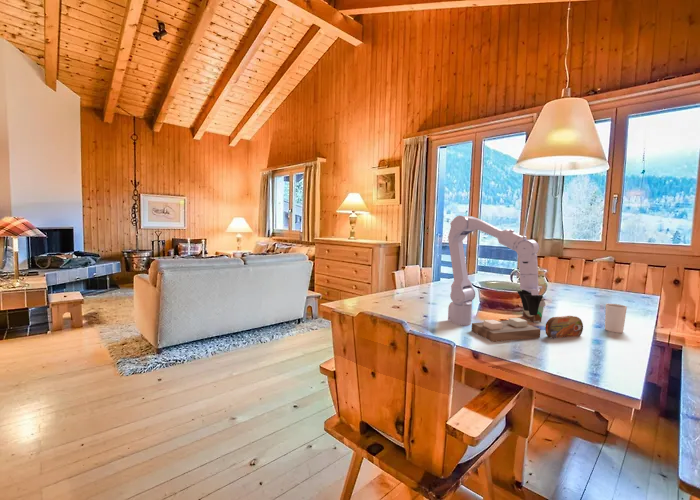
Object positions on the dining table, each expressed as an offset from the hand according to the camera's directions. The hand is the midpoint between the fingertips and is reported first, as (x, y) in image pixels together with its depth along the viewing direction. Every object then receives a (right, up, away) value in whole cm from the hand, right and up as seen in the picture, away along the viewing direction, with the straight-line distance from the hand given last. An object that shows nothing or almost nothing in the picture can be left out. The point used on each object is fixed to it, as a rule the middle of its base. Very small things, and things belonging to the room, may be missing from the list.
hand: (530, 312), depth 122 cm
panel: (-6, -10, +6) cm, 13 cm away
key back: (-1, -7, +7) cm, 10 cm away
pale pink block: (-11, -7, +4) cm, 14 cm away
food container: (+16, -9, +26) cm, 31 cm away
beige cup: (+41, -10, +16) cm, 45 cm away
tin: (+14, -11, +5) cm, 19 cm away
